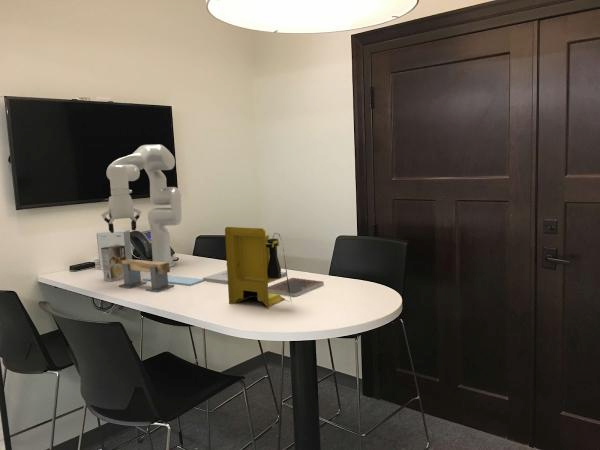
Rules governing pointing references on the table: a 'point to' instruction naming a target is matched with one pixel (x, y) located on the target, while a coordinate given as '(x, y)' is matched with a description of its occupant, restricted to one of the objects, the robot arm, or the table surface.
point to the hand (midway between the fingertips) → (123, 231)
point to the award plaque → (225, 277)
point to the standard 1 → (131, 278)
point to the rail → (146, 265)
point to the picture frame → (294, 287)
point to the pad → (180, 280)
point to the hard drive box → (114, 242)
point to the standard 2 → (158, 281)
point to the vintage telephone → (251, 265)
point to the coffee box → (113, 262)
